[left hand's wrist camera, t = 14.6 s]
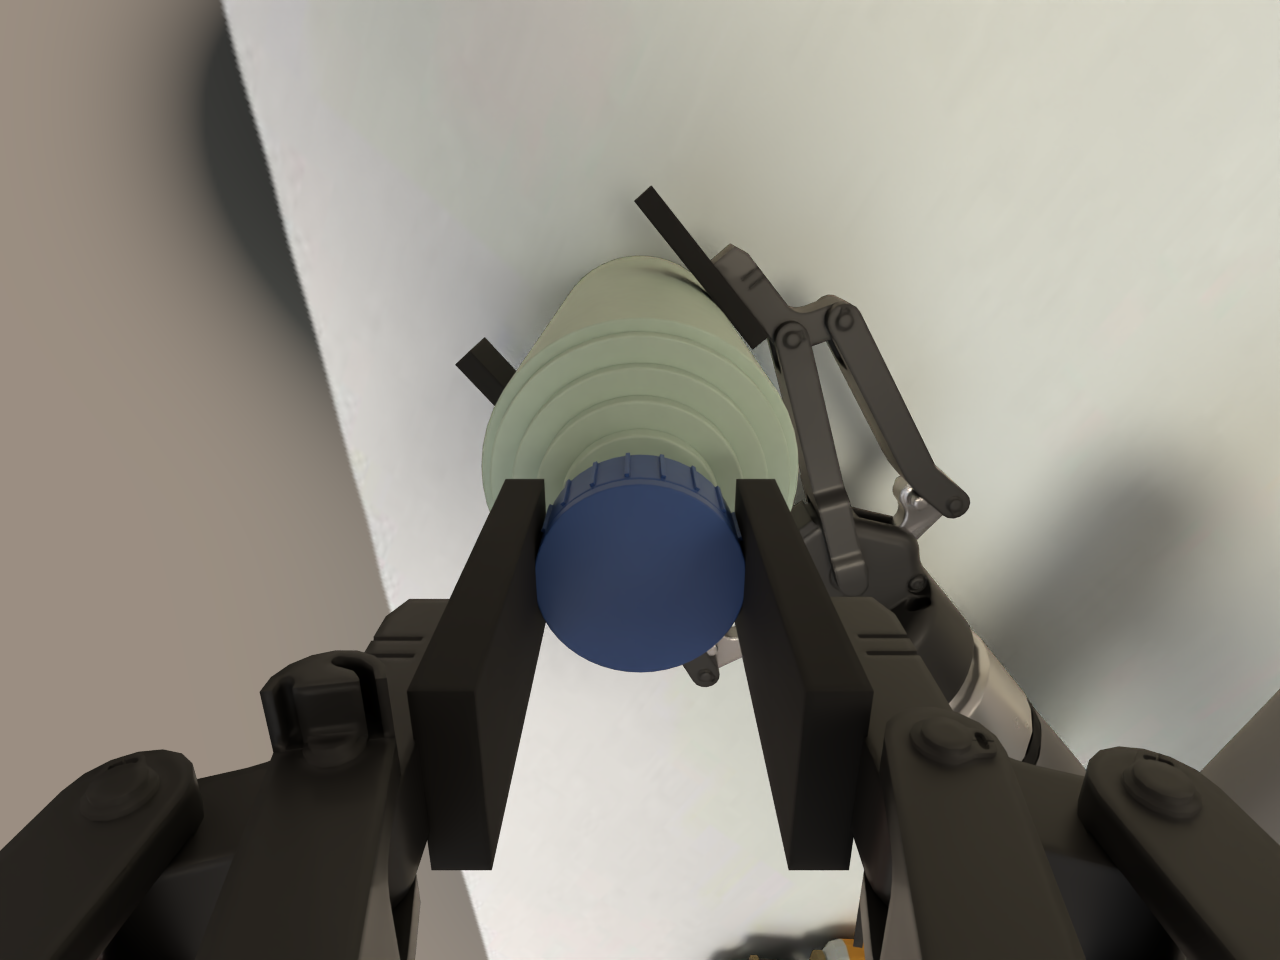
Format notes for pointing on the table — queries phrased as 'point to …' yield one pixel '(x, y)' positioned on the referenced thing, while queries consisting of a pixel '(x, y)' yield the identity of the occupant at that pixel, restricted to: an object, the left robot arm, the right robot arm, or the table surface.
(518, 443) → the bottle
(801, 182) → the table surface
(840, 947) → the spray gun
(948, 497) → the right robot arm
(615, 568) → the cap
